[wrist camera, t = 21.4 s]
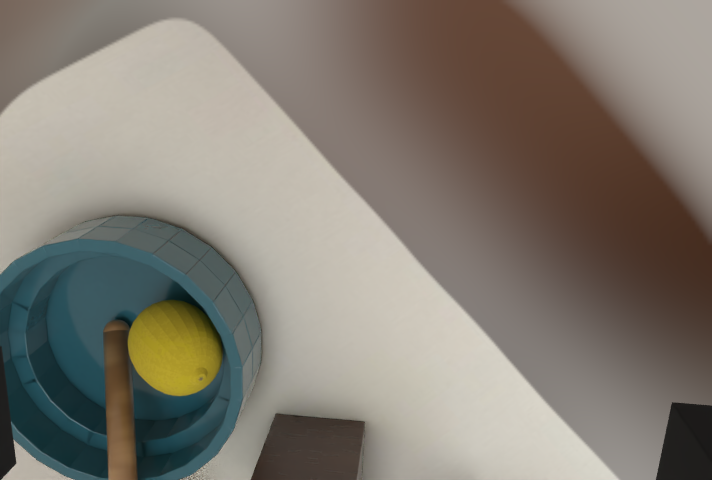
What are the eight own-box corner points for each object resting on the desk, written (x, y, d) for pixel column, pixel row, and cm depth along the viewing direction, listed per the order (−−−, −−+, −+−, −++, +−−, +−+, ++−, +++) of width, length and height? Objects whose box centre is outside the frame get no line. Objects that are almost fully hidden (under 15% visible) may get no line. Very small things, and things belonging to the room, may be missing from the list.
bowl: (12, 205, 47) (-45, 230, 41) (264, 222, 46) (241, 250, 40) (36, 427, 52) (-11, 476, 47) (263, 448, 51) (243, 501, 45)
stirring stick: (102, 323, 48) (114, 637, 43) (102, 318, 47) (114, 644, 41) (129, 321, 49) (144, 631, 43) (129, 316, 47) (145, 637, 42)
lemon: (192, 275, 47) (246, 331, 42) (187, 343, 50) (238, 405, 44) (111, 287, 44) (158, 349, 38) (110, 360, 46) (154, 429, 41)
